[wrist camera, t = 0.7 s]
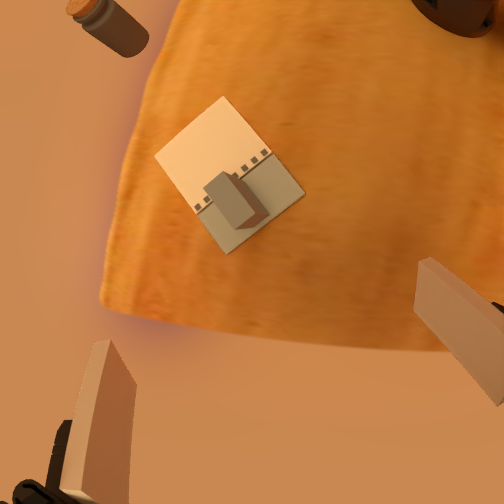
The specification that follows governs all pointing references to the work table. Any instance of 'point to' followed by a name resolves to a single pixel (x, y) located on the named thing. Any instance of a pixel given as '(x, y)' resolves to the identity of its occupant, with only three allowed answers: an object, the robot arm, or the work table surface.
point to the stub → (248, 202)
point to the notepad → (211, 152)
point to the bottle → (110, 25)
